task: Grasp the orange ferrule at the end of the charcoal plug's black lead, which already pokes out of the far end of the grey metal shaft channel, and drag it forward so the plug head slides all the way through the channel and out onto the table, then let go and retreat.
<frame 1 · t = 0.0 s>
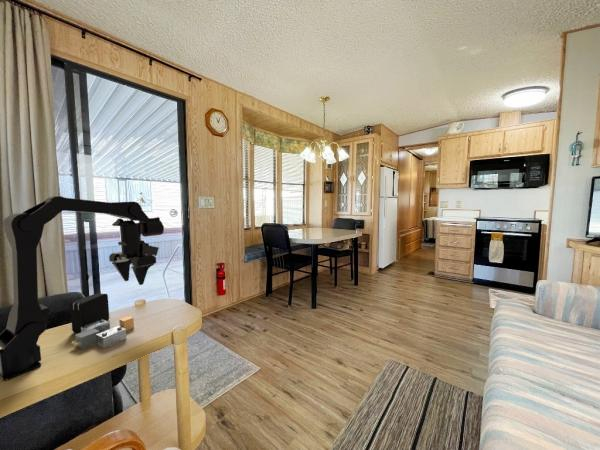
hand: (133, 282, 88), 15 cm above the table, fingers open, 9 cm apart
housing: (103, 337, 79), on the table
electronic device: (92, 326, 87), on the table
plug: (88, 344, 76), on the table
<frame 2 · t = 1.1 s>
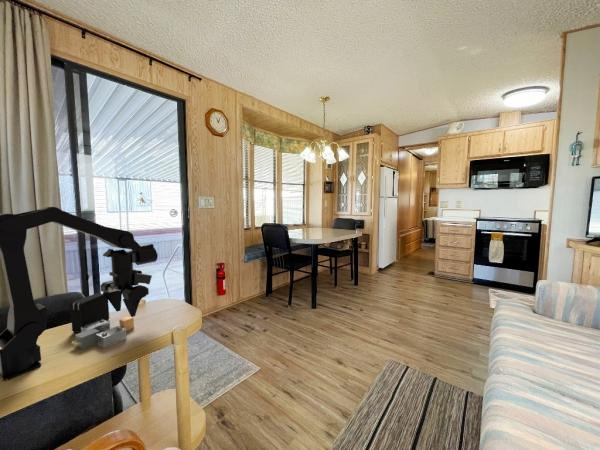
hand: (125, 313, 85), 5 cm above the table, fingers open, 9 cm apart
nothing on the table moved.
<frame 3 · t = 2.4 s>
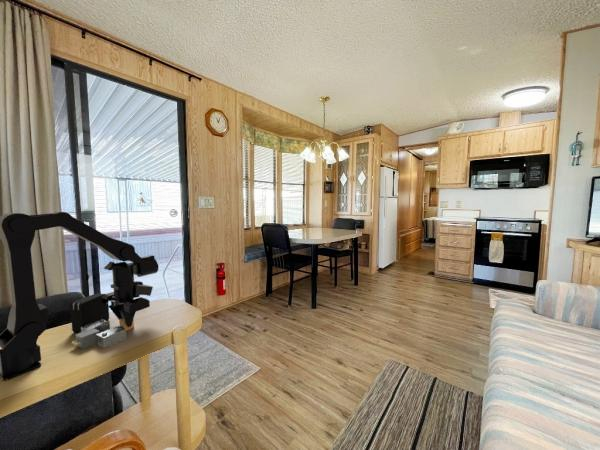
hand: (126, 325, 85), 1 cm above the table, fingers closed on plug, 3 cm apart
plug: (88, 343, 76), on the table, touching gripper
everything else where it was.
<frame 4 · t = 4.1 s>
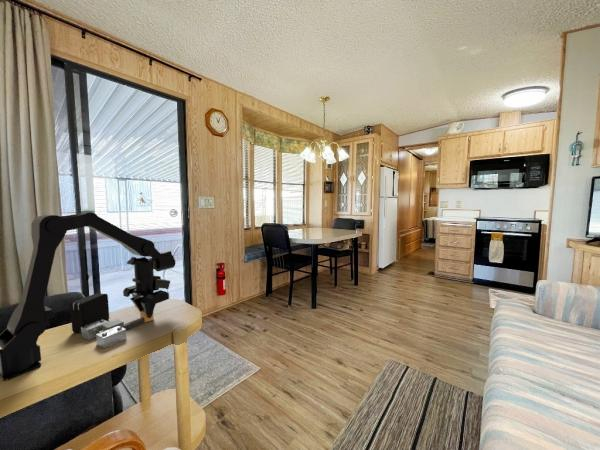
hand: (147, 316, 91), 1 cm above the table, fingers closed on plug, 3 cm apart
plug: (113, 333, 82), on the table, touching gripper
everything else where it was.
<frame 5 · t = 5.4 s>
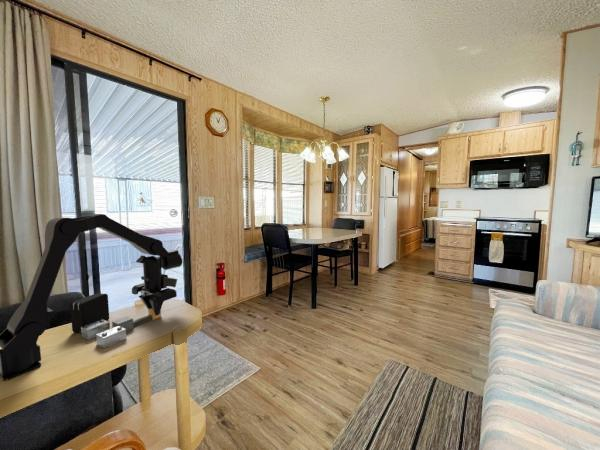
hand: (155, 314, 93), 1 cm above the table, fingers closed on plug, 3 cm apart
plug: (123, 330, 84), on the table, touching gripper
everything else where it was.
when the fingers open (1 cm above the table, at t = 5.9 s): plug stays where it is, on the table.
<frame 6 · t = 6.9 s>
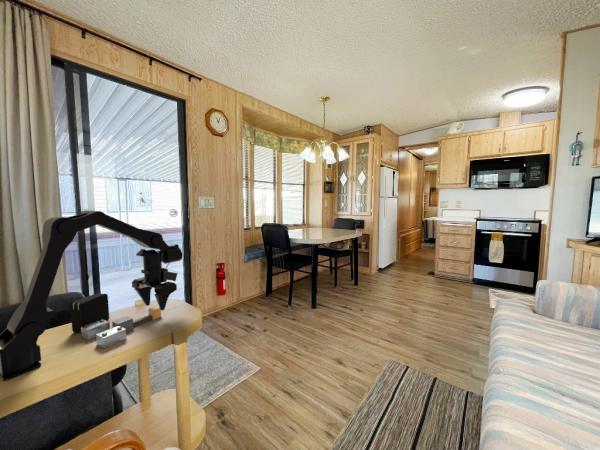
hand: (155, 307, 93), 4 cm above the table, fingers open, 9 cm apart
plug: (123, 330, 84), on the table
everything else where it was.
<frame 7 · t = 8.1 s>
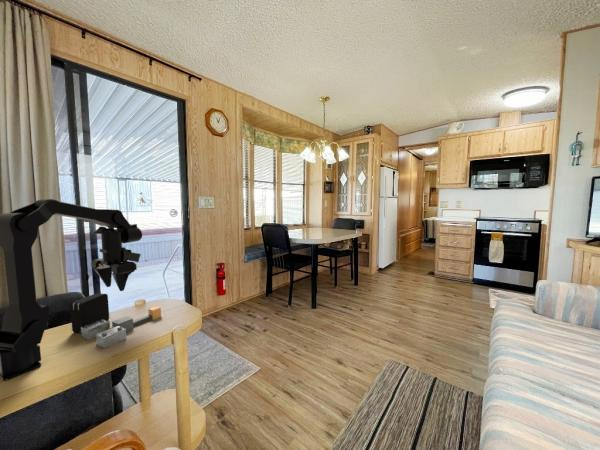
hand: (115, 288, 90), 12 cm above the table, fingers open, 9 cm apart
nothing on the table moved.
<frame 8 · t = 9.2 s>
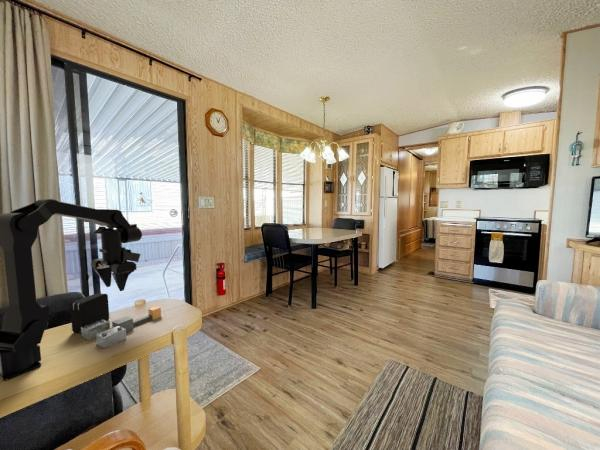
hand: (115, 288, 90), 12 cm above the table, fingers open, 9 cm apart
nothing on the table moved.
at the end: plug inside the target area (4.0 cm from its centre), on the table; plug tilted 0°; the gripper is holding nothing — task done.
